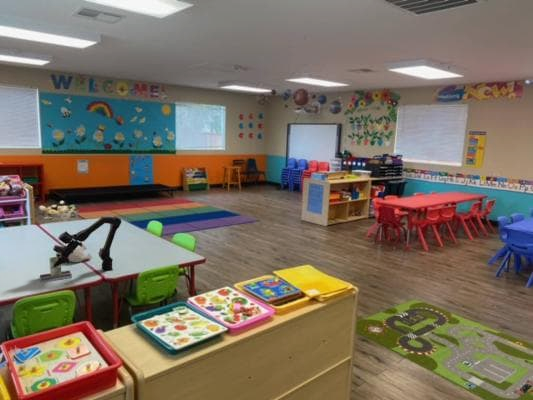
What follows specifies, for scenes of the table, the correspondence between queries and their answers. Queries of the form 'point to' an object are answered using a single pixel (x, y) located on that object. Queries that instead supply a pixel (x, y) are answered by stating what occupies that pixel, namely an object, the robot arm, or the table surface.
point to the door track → (53, 278)
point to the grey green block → (54, 270)
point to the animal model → (79, 255)
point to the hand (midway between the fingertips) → (53, 265)
